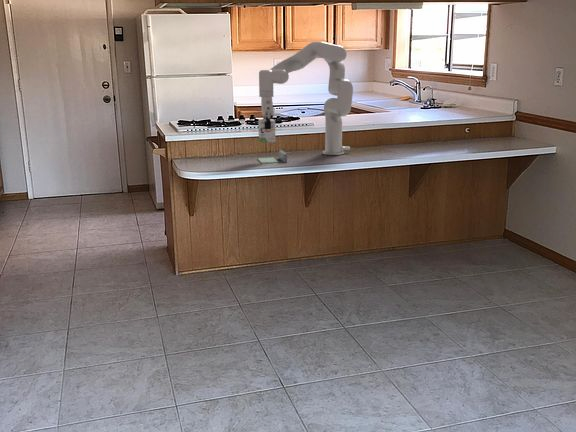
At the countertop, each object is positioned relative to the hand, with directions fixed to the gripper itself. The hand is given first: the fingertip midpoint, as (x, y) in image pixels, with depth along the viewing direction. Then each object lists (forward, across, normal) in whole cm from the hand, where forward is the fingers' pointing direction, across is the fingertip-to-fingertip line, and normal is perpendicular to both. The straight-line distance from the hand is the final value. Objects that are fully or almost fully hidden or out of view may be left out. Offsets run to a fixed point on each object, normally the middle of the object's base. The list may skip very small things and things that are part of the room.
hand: (266, 127), depth 325 cm
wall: (+18, 0, -9) cm, 20 cm away
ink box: (+8, 0, 0) cm, 8 cm away
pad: (+18, 0, 0) cm, 18 cm away
